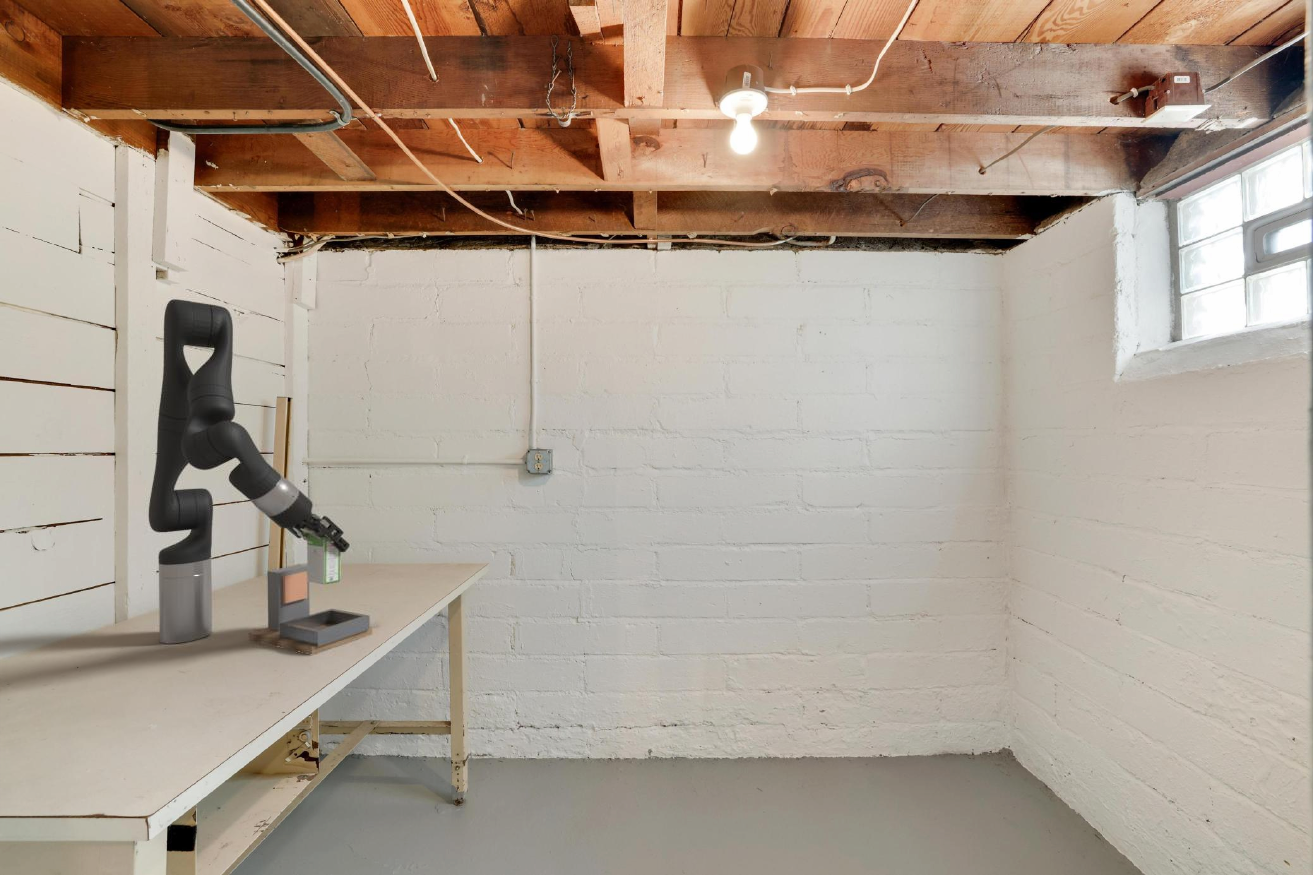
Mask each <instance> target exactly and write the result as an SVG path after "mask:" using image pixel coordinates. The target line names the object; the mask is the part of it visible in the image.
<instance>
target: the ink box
mask: <svg viewBox="0 0 1313 875" xmlns="http://www.w3.org/2000/svg"><path fill="white" fill-rule="evenodd" d="M321 533H322V531H321V530H320V531H319V533H318V534H321ZM326 536H327V535H326ZM327 537H328V536H327ZM306 545H307V546H306V549H307V550H306V560H307V562H306V566H307V581H309V583H310V582H311V583H315V584H320V585H324V586H325V585H331V584H335V583H336V584H337V583H340V582H342V581H341V576H342V575H341V570H342V569H341V568H342V566H341V564H342V561H341V560H342V559H341V558H342V552H340V551H339V550H338V549H337V548H336V547H334V546H333V545H332V544H331V543H329V542H328V541H326V540H325V539H318V538H316V537H315V536H313V535H311V534H307V541H306Z"/></svg>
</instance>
